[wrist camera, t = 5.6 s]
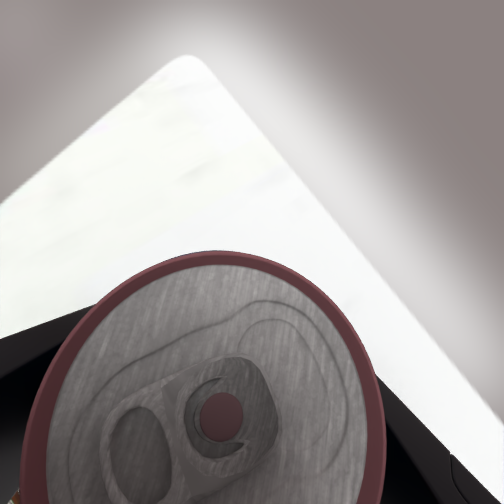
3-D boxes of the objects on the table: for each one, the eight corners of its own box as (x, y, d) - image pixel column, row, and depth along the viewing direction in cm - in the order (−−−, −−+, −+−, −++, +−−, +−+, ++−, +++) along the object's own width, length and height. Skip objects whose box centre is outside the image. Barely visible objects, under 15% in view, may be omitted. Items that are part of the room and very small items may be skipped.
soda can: (246, 287, 17) (313, 184, 6) (290, 396, 15) (501, 543, 4) (137, 328, 15) (-61, 294, 4) (173, 456, 14) (2, 983, 2)
